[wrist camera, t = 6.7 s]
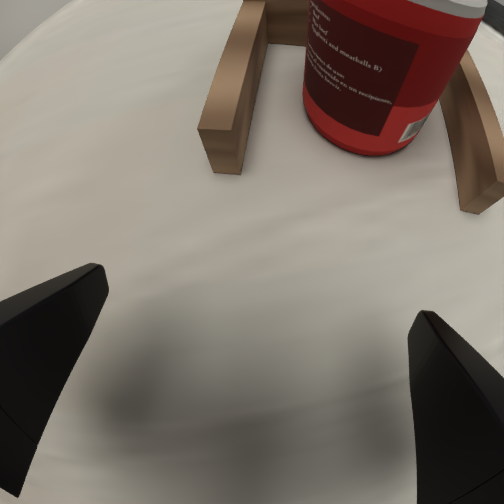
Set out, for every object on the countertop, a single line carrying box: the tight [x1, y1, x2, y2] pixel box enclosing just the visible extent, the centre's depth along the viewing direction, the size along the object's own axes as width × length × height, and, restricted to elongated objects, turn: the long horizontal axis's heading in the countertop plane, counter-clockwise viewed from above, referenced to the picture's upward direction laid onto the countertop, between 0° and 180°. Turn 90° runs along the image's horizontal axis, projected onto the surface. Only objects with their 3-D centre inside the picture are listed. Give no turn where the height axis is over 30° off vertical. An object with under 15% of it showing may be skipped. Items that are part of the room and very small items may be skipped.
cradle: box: [197, 0, 504, 214], centre depth 13 cm, size 14×16×8 cm
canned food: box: [303, 0, 487, 156], centre depth 12 cm, size 8×8×11 cm
